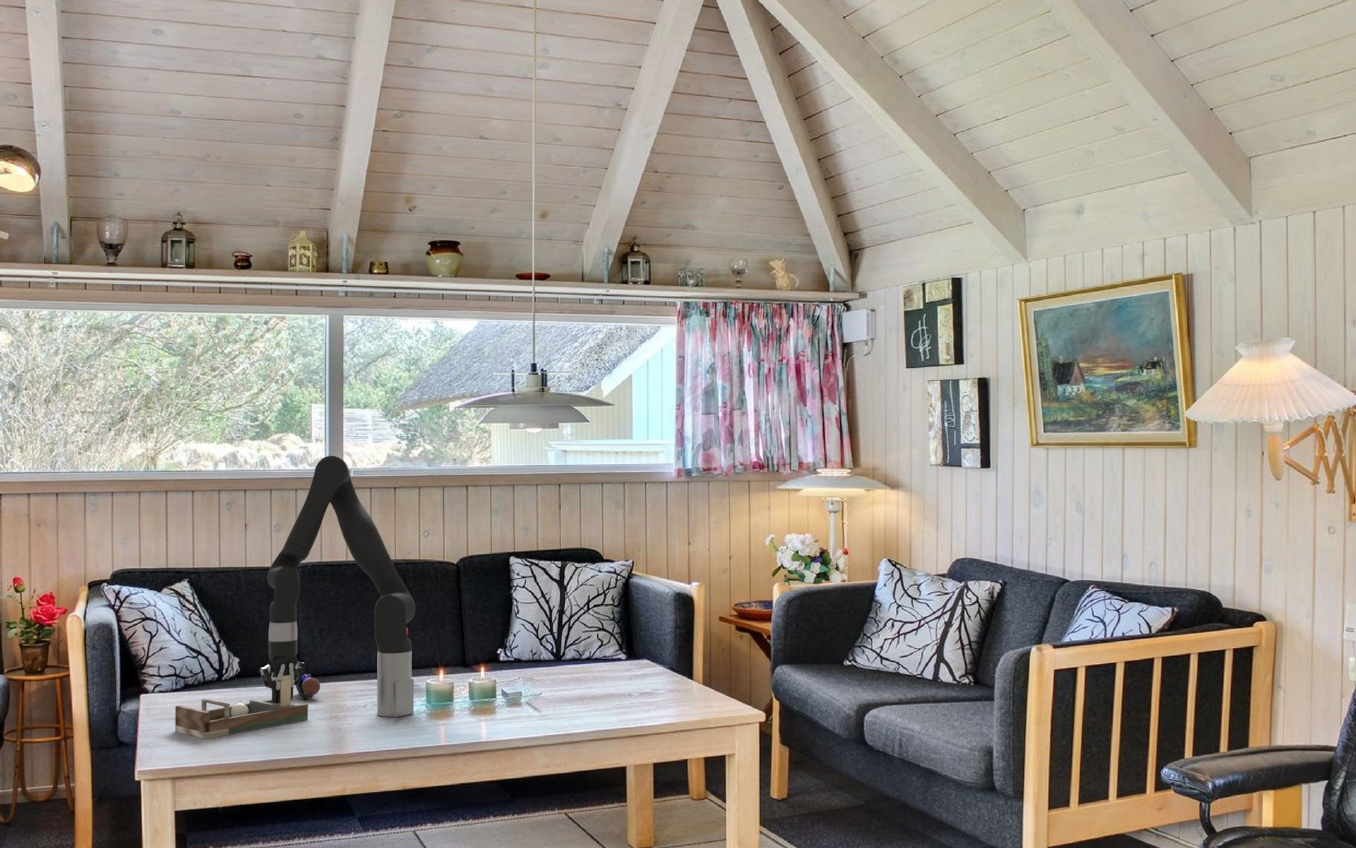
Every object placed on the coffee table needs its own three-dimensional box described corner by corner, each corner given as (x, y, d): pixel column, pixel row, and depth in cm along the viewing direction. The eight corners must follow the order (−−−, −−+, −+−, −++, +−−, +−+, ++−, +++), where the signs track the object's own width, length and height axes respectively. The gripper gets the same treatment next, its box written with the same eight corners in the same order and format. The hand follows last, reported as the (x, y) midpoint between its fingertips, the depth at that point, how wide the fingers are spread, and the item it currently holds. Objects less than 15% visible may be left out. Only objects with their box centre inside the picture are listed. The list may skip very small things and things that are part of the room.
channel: (307, 719, 334) (307, 691, 335) (205, 738, 311) (205, 708, 311) (276, 712, 343) (277, 685, 344) (175, 731, 320) (175, 702, 320)
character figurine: (312, 693, 375) (320, 702, 362) (288, 693, 372) (294, 702, 359) (315, 666, 376) (322, 674, 362) (290, 666, 373) (296, 674, 359)
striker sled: (300, 712, 335) (300, 676, 335) (272, 717, 328) (273, 680, 328) (277, 707, 342) (277, 672, 342) (249, 712, 335) (249, 676, 335)
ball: (251, 719, 327) (251, 703, 327) (236, 722, 323) (236, 705, 323) (242, 717, 329) (242, 701, 330) (227, 720, 326) (227, 703, 326)
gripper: (268, 642, 329) (267, 707, 329) (313, 636, 340) (312, 699, 340) (252, 640, 334) (251, 704, 333) (297, 634, 345) (296, 696, 344)
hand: (282, 701), depth 337 cm, fingers closed on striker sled, 3 cm apart
